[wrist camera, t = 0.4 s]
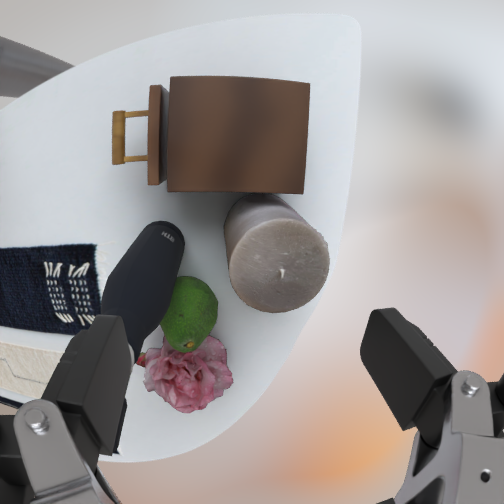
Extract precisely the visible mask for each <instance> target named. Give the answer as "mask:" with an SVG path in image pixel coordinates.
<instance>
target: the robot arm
mask: <svg viewBox="0 0 504 504" xmlns="http://www.w3.org/2000/svg"><path fill="white" fill-rule="evenodd" d="M360 355H361V360H362V362H363V364H364V366H365V367H366V369H367V371H368V372H369V374H370V375H371V377H372V379H373V381H374V382H375V384H376V386H377V387H378V389H379V391H380V392H381V394H382V396H383V398H384V399H385V401H386V403H387V404H388V406H389V408H390V409H391V411H392V413H393V415H394V416H395V418H396V420H397V422H398V423H399V425H400V427H401V428H402V430H403V431H405V430H407V429H410V428H413V427H417V429H418V431H417V433H416V434H415V437H414V441H413V447H412V451H411V456H410V461H409V465H408V469H407V473H406V477H405V480H404V483H403V485H402V487H401V489H400V490H399V492H398V493H397V495H396V496H395V498H394V499H393V498H390V499H388V500H385V501H382V502H380V503H377V504H504V432H503V431H502V430H503V429H504V374H503V375H502V377H501V379H500V380H499V382H488V383H487V382H486V381H485V380H484V379H483V378H482V377H481V376H480V375H478V374H476V373H474V372H471V371H459V372H458V371H457V370H456V369H455V368H454V367H453V365H452V364H451V363H450V362H449V361H448V360H447V359H446V357H445V356H444V355H443V354H442V353H441V352H440V351H439V350H438V348H437V347H436V346H433V343H432V342H431V341H430V340H429V339H427V336H426V335H425V334H424V333H423V332H422V331H421V330H420V329H419V328H418V327H417V326H415V325H414V324H412V323H410V322H409V321H407V320H406V319H405V318H404V317H403V316H402V315H401V314H400V313H399V312H398V311H397V310H396V309H395V308H385V309H376V310H373V311H372V312H371V314H370V317H369V320H368V324H367V327H366V330H365V334H364V337H363V340H362V343H361V347H360ZM131 368H132V360H131V353H130V349H129V345H128V341H127V336H126V332H125V327H124V323H123V319H122V317H121V316H113V315H97V316H96V317H95V319H94V321H93V322H92V324H91V326H90V328H89V330H81V331H80V332H79V333H78V334H77V335H76V336H74V337H73V338H72V339H71V341H70V342H69V344H68V346H67V348H66V350H65V353H63V355H62V357H61V359H60V363H58V365H57V367H56V369H55V371H54V373H53V375H52V377H51V379H50V381H49V383H48V385H47V387H46V389H45V391H44V393H43V395H42V397H41V399H37V400H32V401H29V402H27V403H25V404H24V405H23V406H21V407H20V408H19V410H18V411H17V413H16V415H0V504H122V503H121V501H120V500H119V499H118V497H117V496H116V494H115V493H114V491H113V489H112V488H111V486H110V485H109V483H108V482H107V480H106V479H105V477H104V475H103V474H102V472H101V470H100V468H99V467H98V465H97V462H98V457H99V454H103V455H109V456H112V453H113V448H114V443H115V438H116V433H117V429H118V424H119V419H120V415H121V411H122V406H123V402H124V398H125V394H126V390H127V386H128V382H129V378H130V374H131ZM34 497H35V498H34Z"/></svg>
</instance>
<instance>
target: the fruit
mask: <svg viewBox="0 0 504 504" xmlns="http://www.w3.org/2000/svg"><path fill="white" fill-rule="evenodd" d="M217 309H218V301H217V299H216V297H215V295H214V293H213V292H212V290H211V289H210V288H209V286H208V285H207V284H206V283H204V282H203V281H201V280H199V279H197V278H195V277H188V276H182V277H177V278H176V282H175V286H174V290H173V294H172V298H171V302H170V306H169V308H168V310H167V312H166V314H165V316H164V318H163V319H162V321H161V322H160V325H161V327H162V330H163V332H164V334H165V337H166V339H167V341H168V342H169V344H170V345H171V346H172V347H173V348H174V349H176V350H177V351H180V352H183V353H186V352H190V351H195V350H196V349H197V348H198V347H199V346H200V345H201V343H202V342H203V341H204V340H205V338H206V337H207V336H208V334H209V333H210V332H211V330H212V328H213V327H214V325H215V324H216V320H217Z"/></svg>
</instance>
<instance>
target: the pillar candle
mask: <svg viewBox="0 0 504 504" xmlns="http://www.w3.org/2000/svg"><path fill="white" fill-rule="evenodd" d="M224 235H225V242H226V243H225V244H226V252H227V261H228V269H229V277H230V281H231V284H232V287H233V289H234V291H235V292H236V294H237V295H238V296H239V298H240V299H241V300H242V301H243V302H245V303H246V304H247V305H248V306H251V307H252V308H255V309H257V310H259V311H263V312H269V313H280V312H288V311H291V310H294V309H297V308H299V307H301V306H303V305H305V304H306V303H308V302H309V301H310V300H312V299H313V298H314V297H315V296H316V295H317V294H318V292H319V291H320V290H321V288H322V287H323V285H324V283H325V281H326V278H327V275H328V272H329V264H330V258H329V252H328V244H327V242H326V241H324V238H323V236H322V234H321V233H319V232H317V230H316V229H314V228H313V227H311V226H310V225H309V224H308V223H307V222H306V221H305V220H304V219H303V218H302V217H301V216H300V215H299V214H298V213H297V212H296V211H295V210H294V209H292V208H291V207H290V206H289V205H288V204H287V203H286V202H285V201H283V200H282V199H280V198H279V197H277V196H275V195H272V194H265V193H257V194H251V195H248V196H246V197H244V198H242V199H240V200H239V201H238V202H237V203H235V204H234V205H233V207H232V208H231V210H230V211H229V213H228V215H227V218H226V221H225V224H224Z"/></svg>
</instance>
